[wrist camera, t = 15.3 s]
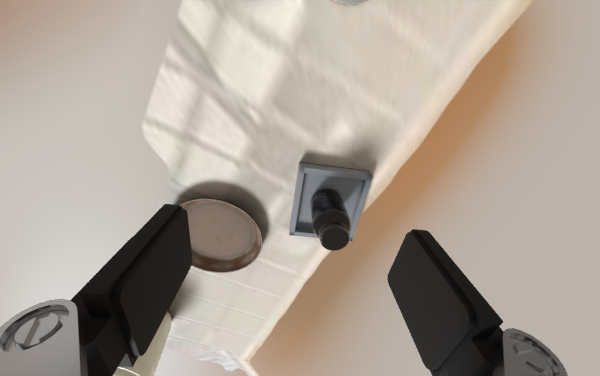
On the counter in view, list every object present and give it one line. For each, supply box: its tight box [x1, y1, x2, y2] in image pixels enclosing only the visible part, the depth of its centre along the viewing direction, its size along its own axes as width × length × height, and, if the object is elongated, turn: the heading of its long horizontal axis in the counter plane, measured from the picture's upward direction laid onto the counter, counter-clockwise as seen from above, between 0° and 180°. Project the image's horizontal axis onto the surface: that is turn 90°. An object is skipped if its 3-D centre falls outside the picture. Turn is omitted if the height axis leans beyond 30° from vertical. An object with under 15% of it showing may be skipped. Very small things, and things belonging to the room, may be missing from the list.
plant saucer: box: [180, 199, 262, 273], centre depth 50 cm, size 21×21×3 cm
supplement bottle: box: [310, 189, 351, 251], centre depth 42 cm, size 7×7×12 cm
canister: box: [113, 311, 171, 376], centre depth 55 cm, size 18×18×21 cm
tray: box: [289, 162, 373, 241], centre depth 47 cm, size 16×14×2 cm
